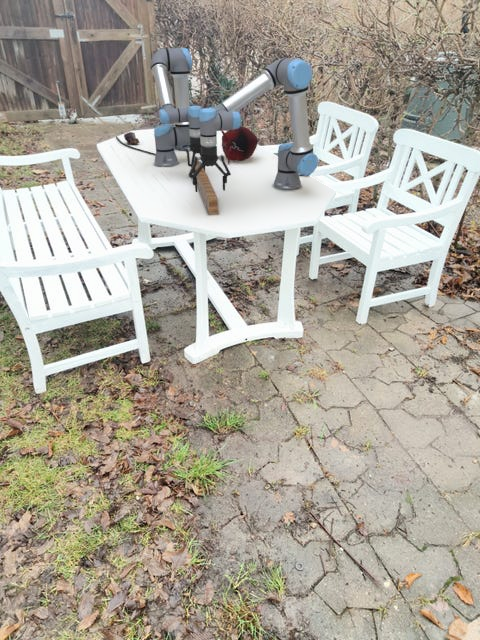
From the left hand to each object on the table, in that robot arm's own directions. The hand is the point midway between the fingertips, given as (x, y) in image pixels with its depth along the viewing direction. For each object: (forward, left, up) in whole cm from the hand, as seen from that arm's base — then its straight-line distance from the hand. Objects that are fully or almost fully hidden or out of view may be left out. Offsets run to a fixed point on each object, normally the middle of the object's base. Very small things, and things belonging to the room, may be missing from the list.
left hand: (198, 177), depth 268 cm
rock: (-100, +25, -1) cm, 104 cm away
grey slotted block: (-59, +43, -1) cm, 73 cm away
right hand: (+42, -31, +9) cm, 53 cm away
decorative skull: (-10, +47, -1) cm, 48 cm away
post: (+21, -15, -1) cm, 26 cm away
